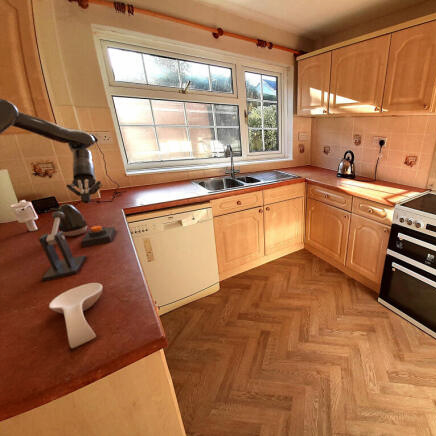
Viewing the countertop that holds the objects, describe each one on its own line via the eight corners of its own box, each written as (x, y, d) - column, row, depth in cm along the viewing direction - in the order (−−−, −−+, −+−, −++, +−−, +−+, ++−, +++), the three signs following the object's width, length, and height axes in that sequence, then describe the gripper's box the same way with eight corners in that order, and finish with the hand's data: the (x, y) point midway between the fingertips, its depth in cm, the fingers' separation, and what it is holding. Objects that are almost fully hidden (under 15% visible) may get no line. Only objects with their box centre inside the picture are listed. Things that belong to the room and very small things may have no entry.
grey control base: (90, 236, 114) (86, 227, 112) (115, 231, 118) (112, 223, 116) (83, 247, 104) (79, 237, 102) (111, 241, 108) (107, 232, 106)
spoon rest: (54, 305, 71) (44, 284, 68) (103, 286, 78) (96, 268, 75) (53, 359, 54) (39, 335, 51) (115, 330, 61) (106, 307, 58)
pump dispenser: (62, 234, 117) (48, 204, 111) (88, 227, 123) (77, 199, 118) (62, 241, 110) (48, 209, 104) (91, 233, 116) (79, 203, 111)
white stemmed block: (45, 225, 128) (32, 198, 122) (39, 230, 122) (25, 202, 116) (27, 228, 125) (13, 201, 119) (20, 234, 119) (5, 205, 113)
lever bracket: (56, 263, 92) (40, 231, 87) (85, 257, 95) (72, 225, 90) (43, 281, 82) (24, 245, 77) (76, 273, 85) (61, 238, 80)
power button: (93, 230, 110) (92, 226, 109) (103, 228, 112) (101, 224, 111) (91, 233, 107) (90, 229, 106) (101, 231, 109) (100, 227, 108)
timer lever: (55, 216, 93) (50, 210, 90) (66, 215, 94) (62, 208, 92) (48, 246, 84) (42, 240, 81) (60, 244, 85) (55, 238, 83)
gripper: (61, 166, 106) (62, 200, 100) (97, 163, 111) (101, 195, 105) (69, 176, 112) (71, 209, 107) (104, 172, 117) (107, 203, 112)
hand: (86, 202), depth 106 cm, fingers closed
